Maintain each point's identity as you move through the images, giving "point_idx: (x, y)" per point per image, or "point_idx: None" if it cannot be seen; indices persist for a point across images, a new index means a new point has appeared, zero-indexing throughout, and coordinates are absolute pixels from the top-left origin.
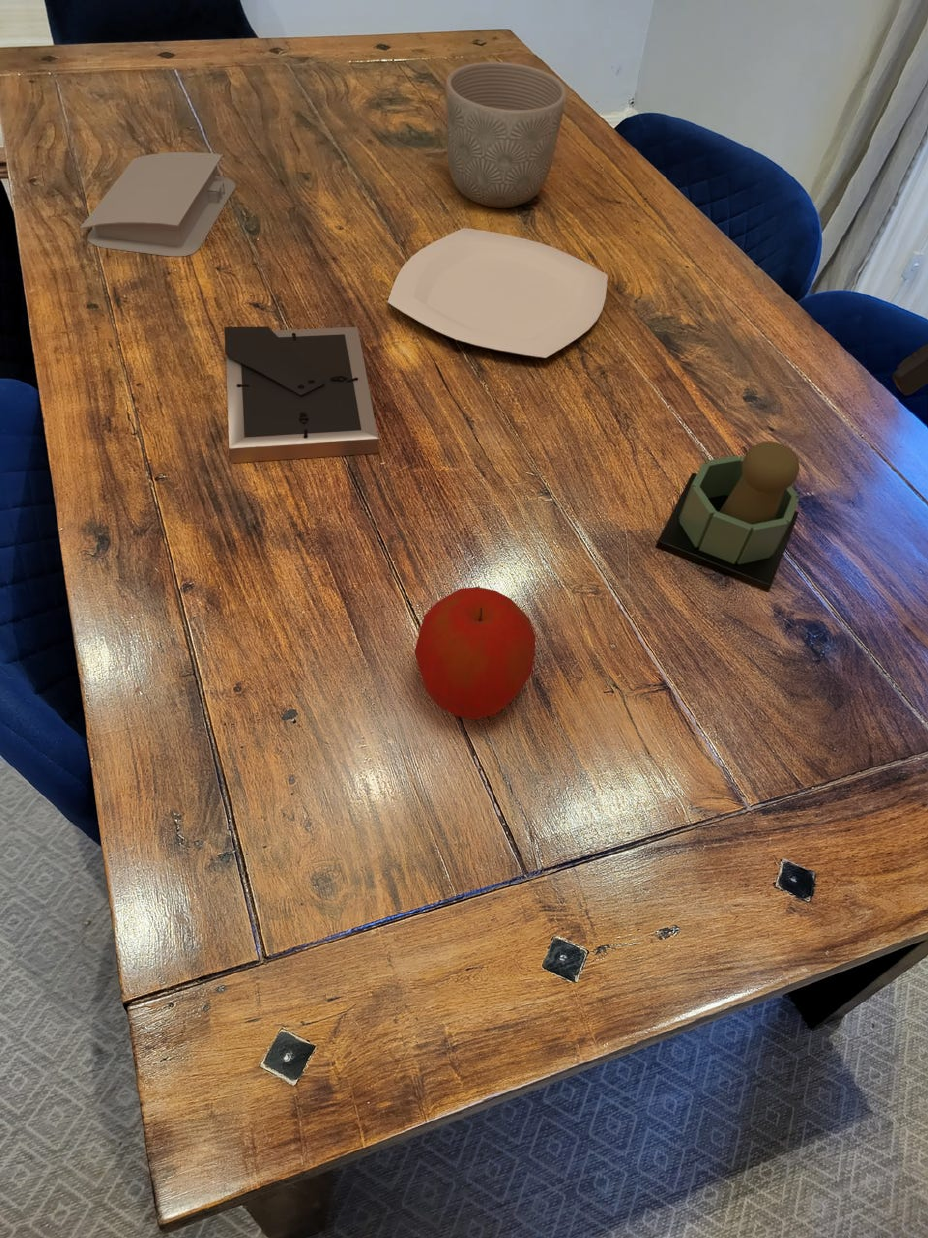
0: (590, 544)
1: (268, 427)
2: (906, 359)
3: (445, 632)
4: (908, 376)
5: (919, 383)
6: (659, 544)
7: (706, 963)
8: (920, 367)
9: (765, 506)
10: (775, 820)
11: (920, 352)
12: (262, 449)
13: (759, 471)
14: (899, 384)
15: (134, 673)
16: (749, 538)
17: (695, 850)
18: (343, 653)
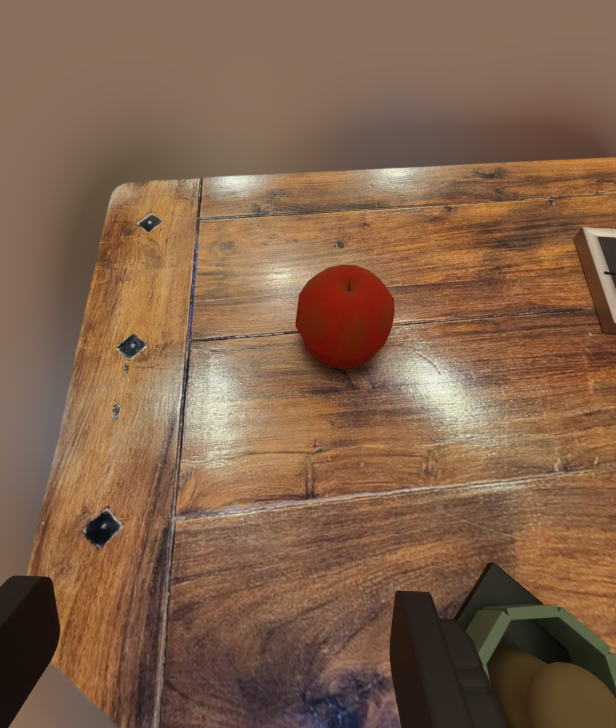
0: (492, 489)
1: (612, 251)
2: (470, 649)
3: (340, 266)
4: (401, 622)
5: (400, 689)
6: (489, 565)
7: (84, 429)
8: (411, 658)
9: (513, 695)
10: (154, 537)
11: (476, 692)
12: (586, 247)
13: (551, 673)
14: (394, 603)
15: (384, 184)
16: None
17: (159, 456)
18: (383, 276)
